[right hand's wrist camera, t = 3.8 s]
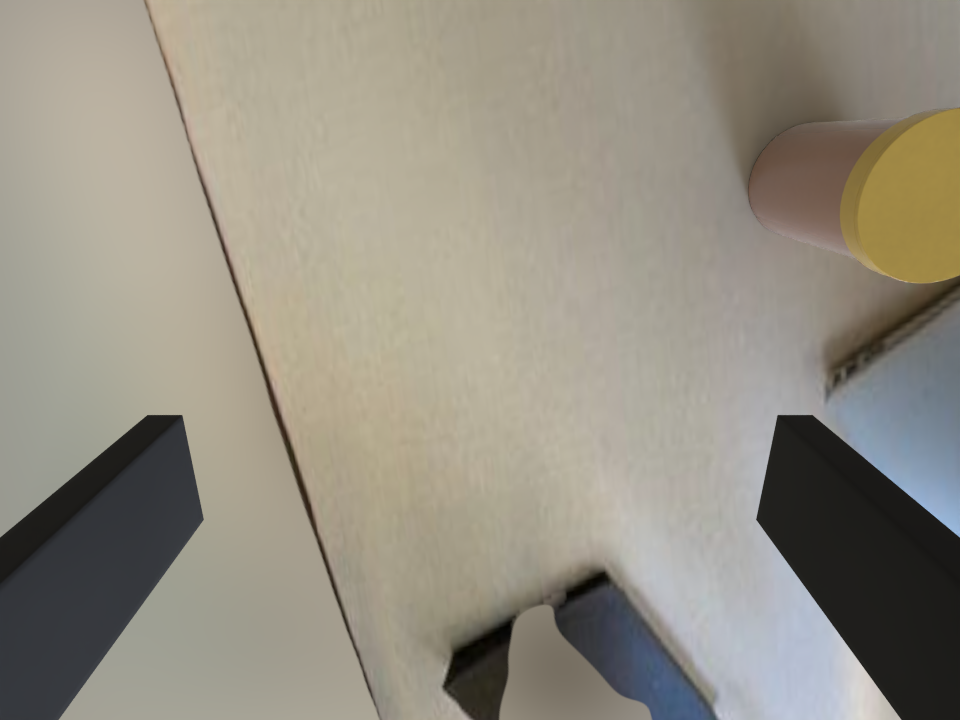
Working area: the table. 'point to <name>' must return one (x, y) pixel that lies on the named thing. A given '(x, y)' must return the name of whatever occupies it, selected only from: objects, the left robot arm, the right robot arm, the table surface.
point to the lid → (907, 200)
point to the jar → (810, 179)
